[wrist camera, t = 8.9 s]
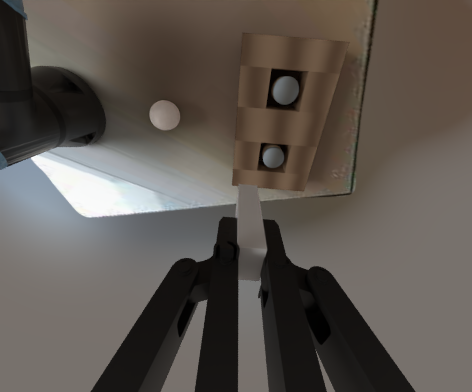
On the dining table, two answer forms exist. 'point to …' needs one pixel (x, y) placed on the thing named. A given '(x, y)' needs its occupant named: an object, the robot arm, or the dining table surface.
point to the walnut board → (283, 107)
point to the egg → (164, 115)
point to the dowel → (272, 155)
